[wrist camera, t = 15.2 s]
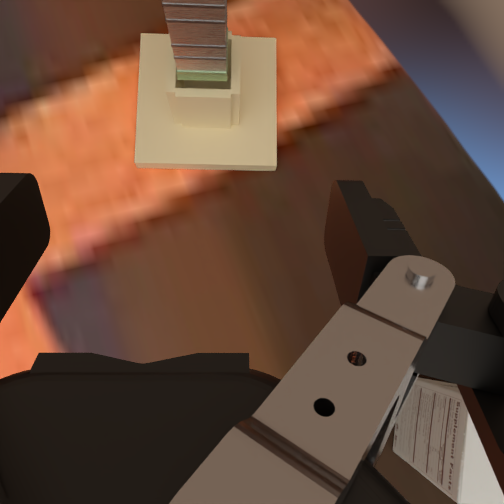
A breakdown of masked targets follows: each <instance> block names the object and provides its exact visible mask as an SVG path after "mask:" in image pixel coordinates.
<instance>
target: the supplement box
mask: <svg viewBox="0 0 504 504" xmlns="http://www.w3.org/2000/svg"><path fill="white" fill-rule="evenodd" d="M393 451H394V452H395V453H396V454H397V455H399V456H400V457H401V458H402V459H403V460H405V461H406V462H407V463H409V464H410V465H411V466H412V467H413V468H415V469H416V470H417V471H418V472H420V473H421V474H422V475H423V476H424V477H426V478H427V479H428V480H429V481H431V482H432V483H433V484H434V485H435V486H437V487H438V488H439V489H440V490H441V491H443V492H444V493H445V494H446V495H448V496H449V497H450V498H451V499H453V500H454V501H455V502H457V503H458V504H504V495H503V493H502V490H501V488H500V486H499V483H498V481H497V478H496V476H495V474H494V471H493V469H492V467H491V464H490V462H489V460H488V457H487V455H486V453H485V450H484V448H483V445H482V443H481V441H480V438H479V436H478V434H477V431H476V429H475V427H474V424H473V422H472V420H471V417H470V415H469V412H468V410H467V408H466V405H465V403H464V401H463V398H462V396H461V394H460V391H459V389H458V387H457V384H453V383H447V382H442V381H436V380H430V379H424V378H417V380H416V382H415V384H414V386H413V388H412V390H411V392H410V394H409V396H408V398H407V400H406V402H405V404H404V406H403V408H402V410H401V412H400V414H399V416H398V418H397V420H396V423H395V432H394V442H393Z"/></svg>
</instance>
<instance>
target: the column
mask: <svg viewBox="0 0 504 504" xmlns="http://www.w3.org/2000/svg"><path fill="white" fill-rule="evenodd" d="M162 7H164V12H165V21H166V22H167V26H168V30H169V35H170V40H171V47H172V49H173V53H174V59H175V63H176V74H177V78H178V80H198V81H227V73H228V27H227V0H162Z"/></svg>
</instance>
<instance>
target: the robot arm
mask: <svg viewBox="0 0 504 504" xmlns="http://www.w3.org/2000/svg"><path fill="white" fill-rule="evenodd" d="M49 239H50V226H49V222H48V218H47V215H46V211H45V207H44V204H43V200H42V197H41V193H40V190H39V186H38V183H37V180H36V178H35V177H34V175H32V174H30V173H0V322H1V321H2V319H3V317H4V316H5V314H6V312H7V311H8V309H9V308H10V306H11V304H12V303H13V301H14V300H15V298H16V296H17V295H18V293H19V291H20V290H21V288H22V287H23V285H24V283H25V282H26V280H27V278H28V277H29V275H30V274H31V272H32V270H33V269H34V267H35V266H36V264H37V262H38V261H39V259H40V257H41V256H42V254H43V253H44V251H45V249H46V248H47V246H48V243H49ZM324 245H325V251H326V255H327V258H328V262H329V265H330V269H331V272H332V276H333V279H334V283H335V286H336V290H337V293H338V297H339V300H340V304H341V308H340V309H339V310H338V311H337V312H336V314H335V315H334V316H333V317H332V319H331V320H330V321H329V322H328V324H327V325H326V326H325V327H324V328H323V330H322V331H321V332H320V333H319V335H318V336H317V337H316V338H315V339H314V341H313V342H312V343H311V344H310V346H309V347H308V348H307V349H306V351H305V352H304V353H303V354H302V355H301V357H300V358H299V359H298V360H297V362H296V363H295V364H294V365H293V366H292V368H291V369H290V370H289V371H288V373H287V374H286V375H285V376H284V378H283V379H282V380H280V379H278V378H276V377H273V376H271V375H269V374H266V373H263V372H260V371H257V370H253V369H249V353H196V354H191V355H186V356H181V357H176V358H171V359H166V360H161V361H156V362H151V363H145V364H140V363H135V362H130V361H126V360H121V359H117V358H112V357H108V356H103V355H99V354H94V353H39V354H38V356H37V358H36V360H35V362H34V364H33V366H32V368H31V370H27V371H23V372H19V373H16V374H12V375H10V376H7V377H4V378H2V379H0V504H410V503H409V502H408V501H407V500H406V499H405V498H404V497H403V496H402V495H401V494H400V493H399V492H398V491H397V490H396V489H395V488H394V487H393V486H392V485H391V484H390V483H389V482H388V481H387V480H386V479H385V478H384V477H383V476H382V475H381V474H380V473H379V472H378V471H377V470H376V469H375V468H374V467H375V465H376V463H377V461H378V459H379V457H380V454H381V452H382V450H383V448H384V445H385V443H386V441H387V439H388V436H389V434H390V432H391V430H392V428H393V426H394V424H395V422H396V420H397V418H398V416H399V414H400V412H401V410H402V408H403V406H404V404H405V402H406V400H407V398H408V396H409V394H410V392H411V390H412V388H413V386H414V384H415V382H416V380H417V378H418V376H419V374H422V375H426V376H429V377H433V378H437V379H441V380H444V381H448V382H452V383H456V384H457V387H458V389H459V391H460V394H461V396H462V398H463V401H464V403H465V405H466V408H467V410H468V412H469V415H470V417H471V420H472V422H473V424H474V427H475V429H476V431H477V434H478V436H479V438H480V441H481V443H482V445H483V448H484V450H485V453H486V455H487V457H488V460H489V462H490V464H491V467H492V469H493V471H494V474H495V476H496V478H497V481H498V483H499V486H500V488H501V490H502V493H503V495H504V280H503V281H501V282H500V283H499V285H498V287H497V289H496V291H495V293H494V294H493V293H488V292H483V291H479V290H474V289H469V288H465V287H461V286H458V285H455V279H454V277H453V275H452V273H451V272H450V271H449V270H448V269H447V268H446V267H444V266H443V265H441V264H440V263H438V262H436V261H433V260H431V259H428V258H425V257H422V256H421V254H420V253H419V251H418V249H417V248H416V246H415V244H414V243H413V241H412V239H411V237H410V236H409V234H408V232H407V231H405V227H404V225H403V224H402V222H400V219H399V217H398V215H397V213H396V212H395V210H394V208H392V207H391V206H390V205H388V204H387V203H386V202H384V201H383V200H382V199H376V198H371V196H370V194H369V192H368V190H367V189H366V187H365V185H364V183H363V181H354V180H334V182H333V184H332V188H331V194H330V200H329V206H328V212H327V219H326V225H325V233H324Z"/></svg>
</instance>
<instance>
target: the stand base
mask: <svg viewBox="0 0 504 504" xmlns="http://www.w3.org/2000/svg"><path fill="white" fill-rule="evenodd" d="M134 163H135V165H136V166H137V168H158V169H206V170H254V171H275V170H276V167H277V113H276V38H263V37H241V36H239V35H232V31H228V73H227V81H198V80H178V78H177V74H176V63H175V59H174V53H173V49H172V47H171V40H170V35H169V33H168V34H147V33H141V43H140V62H139V82H138V101H137V121H136V141H135V160H134Z"/></svg>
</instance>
